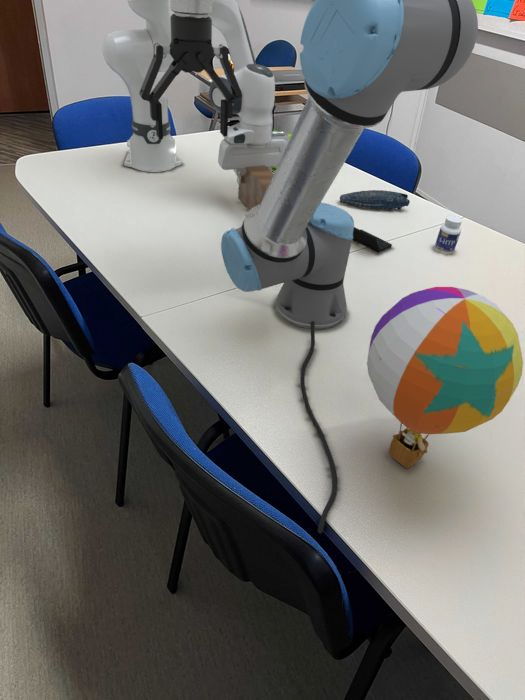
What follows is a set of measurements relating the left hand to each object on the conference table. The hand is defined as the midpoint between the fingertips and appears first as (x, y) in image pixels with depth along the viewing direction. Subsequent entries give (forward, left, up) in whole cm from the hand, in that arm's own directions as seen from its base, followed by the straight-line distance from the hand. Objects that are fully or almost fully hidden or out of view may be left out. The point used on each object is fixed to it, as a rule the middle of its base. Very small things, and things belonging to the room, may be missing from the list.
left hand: (252, 182), depth 150 cm
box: (+10, +1, -6) cm, 12 cm away
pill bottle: (+35, +45, -7) cm, 57 cm away
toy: (+98, 0, -7) cm, 98 cm away
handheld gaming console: (+29, +24, -7) cm, 38 cm away
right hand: (+32, -22, +23) cm, 45 cm away
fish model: (+5, +38, -7) cm, 39 cm away
